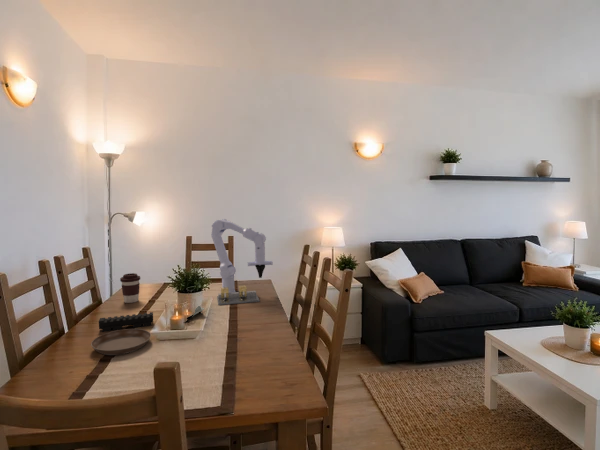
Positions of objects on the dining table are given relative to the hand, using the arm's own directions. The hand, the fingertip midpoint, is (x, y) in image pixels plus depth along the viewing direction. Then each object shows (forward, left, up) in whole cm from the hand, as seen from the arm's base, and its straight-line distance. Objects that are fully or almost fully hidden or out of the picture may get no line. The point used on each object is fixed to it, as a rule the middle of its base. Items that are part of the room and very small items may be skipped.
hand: (260, 277), depth 207 cm
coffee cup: (-6, -71, -10) cm, 72 cm away
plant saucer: (+57, -63, -10) cm, 86 cm away
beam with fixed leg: (+7, -14, -9) cm, 18 cm away
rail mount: (+35, -65, -10) cm, 75 cm away
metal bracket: (+28, -40, -11) cm, 50 cm away
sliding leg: (+7, -11, -9) cm, 16 cm away
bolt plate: (+8, -14, -10) cm, 19 cm away
